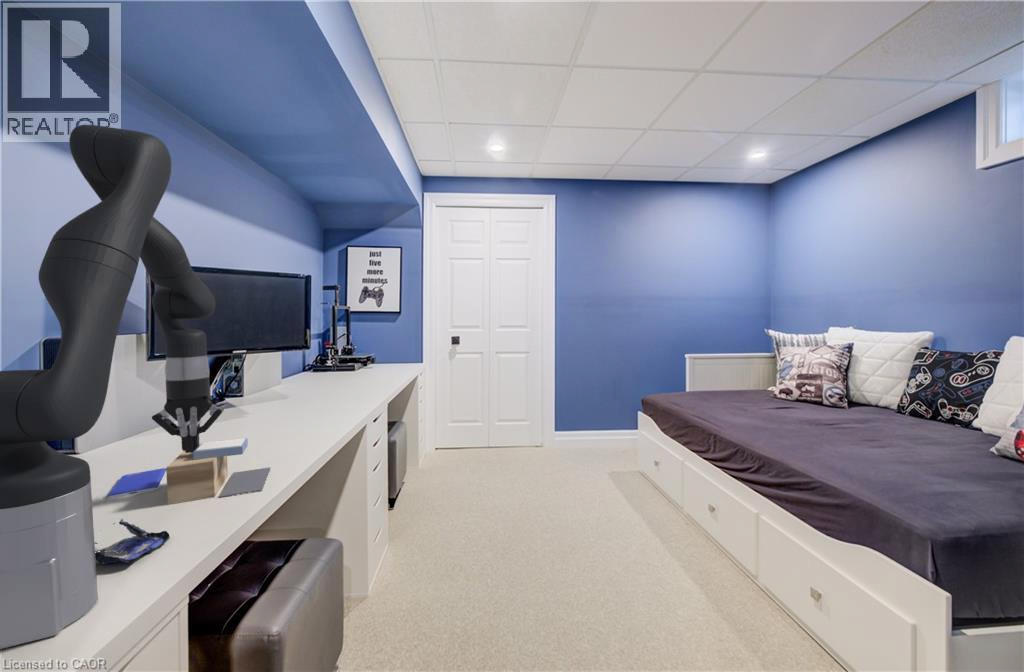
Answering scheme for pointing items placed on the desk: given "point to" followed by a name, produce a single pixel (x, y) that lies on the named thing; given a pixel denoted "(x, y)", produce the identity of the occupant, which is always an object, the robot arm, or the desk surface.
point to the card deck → (220, 448)
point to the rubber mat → (245, 482)
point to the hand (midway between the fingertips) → (191, 451)
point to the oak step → (195, 477)
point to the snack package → (132, 545)
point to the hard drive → (138, 483)
